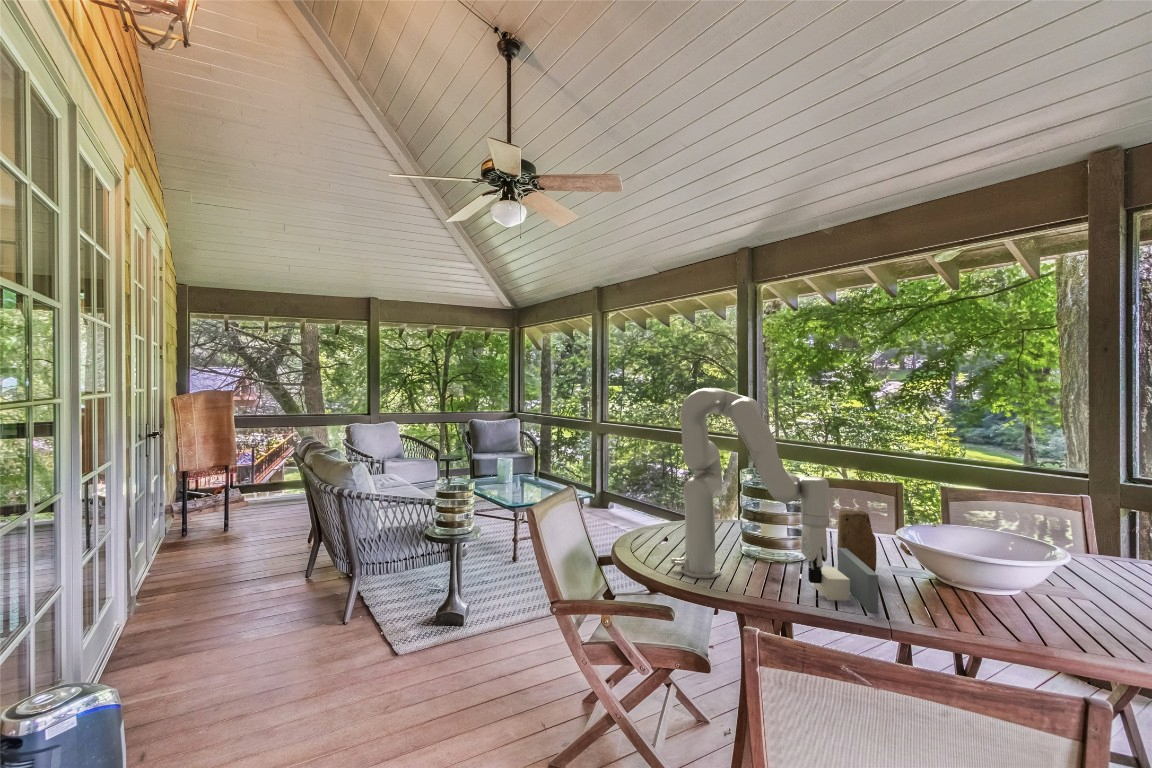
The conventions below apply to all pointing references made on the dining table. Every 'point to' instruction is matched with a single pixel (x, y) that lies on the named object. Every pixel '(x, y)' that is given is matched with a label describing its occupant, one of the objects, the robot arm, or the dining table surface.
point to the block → (857, 536)
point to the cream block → (834, 584)
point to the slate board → (859, 579)
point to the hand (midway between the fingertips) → (814, 582)
